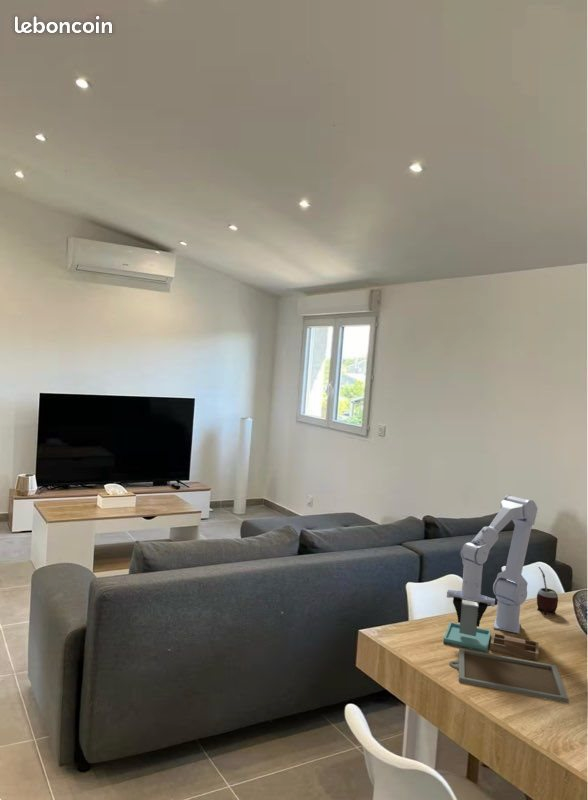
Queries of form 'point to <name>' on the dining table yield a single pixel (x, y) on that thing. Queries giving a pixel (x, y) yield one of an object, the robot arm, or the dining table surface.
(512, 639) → the offcut upper
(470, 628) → the slate gray block
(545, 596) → the mate gourd
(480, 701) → the dining table surface
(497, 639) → the rack
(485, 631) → the tray
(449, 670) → the dining table surface
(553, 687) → the gray framed board
